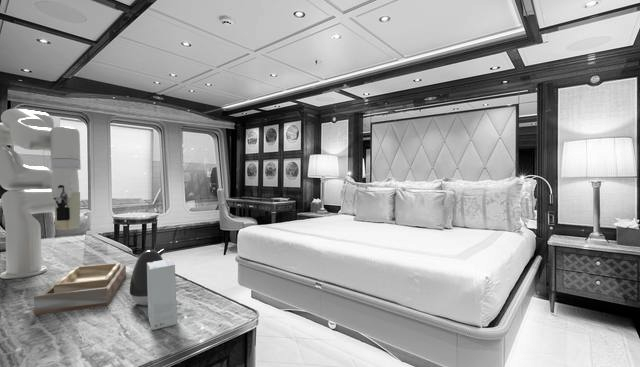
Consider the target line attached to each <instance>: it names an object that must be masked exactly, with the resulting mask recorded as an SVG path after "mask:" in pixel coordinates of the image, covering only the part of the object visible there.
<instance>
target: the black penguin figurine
mask: <svg viewBox="0 0 640 367" xmlns="http://www.w3.org/2000/svg"><path fill="white" fill-rule="evenodd" d="M165 252H166V249H165V248H162V249H160V250H159V251H157V250H154V249H148V250H144V251H143V252H142V253H141V254H140V255H139V256H138V258H137V259H136V262H135V264H134V268H133V271H132V274H131V277H130V284H129V295H130V296H131V299H132V301H134V303H135V304H138V305H140V306H147V307H148V289H147V263H148V262H154V261H160V260H164V259H163V257H162V255H163V254H164V253H165Z"/></svg>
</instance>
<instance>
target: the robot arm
mask: <svg viewBox="0 0 640 367" xmlns="http://www.w3.org/2000/svg"><path fill="white" fill-rule="evenodd" d="M0 121H1V122H0V186H1V188H3V189H4V190H6V192H4V193H3V194H2V195H1V199H0V203H1V204H0V206H1V207H2V211H3V216H4V226H5V228H4V229H5V231H4V232H5V266H6V267H5V271H3V272H1V273H0V278H1V279H4V280H5V279H7V280H11V279H23V278H28V277H33V276H37V275H40V274H43V273H45V272H46V271H48V267H47V266H45V265H42V262H43V257H42V228H41V224H40V222H39V220H38V219H36V217H35V216H33V215H36V214H45V213H55V200H56V203H57V204H56V210H57V221H63V220H70V207H68V204H69V199H72V197H73V192H80V182H79V181H80V180H79V172H78V170H82V169H81V168H82V167H81V141H80V140H81V139H80V137H81V136H80V135H81V134H80V131H79V130H78V129H77V128H76V127H75V128H74V127H71V126H55V122H54V120H53V118H52V117H51V115H50V114H48V113H47V112H42V111H36V110H30V109H24V108H23V109H22V108H9V109H7V110H4V111H3V112H2V113H1V115H0ZM9 146H13V147H14V146H15V147H20V148H23V149H24V150H31V151H48V152H50V169H49V168H48V167H46V166H40V165H39V166H38V165H37V166H35V165H32V166H31V165H30V166H29V165H27V164H25V163H24V160H23V158H22V156H21V155H20V154H19V153H18V152H17V151H15V150H14V149H13V148H10V147H9ZM65 193H66V194H67V198H62V197H65ZM65 201H66V202H65Z"/></svg>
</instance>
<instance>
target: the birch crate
mask: <svg viewBox="0 0 640 367" xmlns="http://www.w3.org/2000/svg"><path fill="white" fill-rule="evenodd" d="M120 268H121V262H114V263H113V262H111V263H103V264H100V263H99V264H92V265H91V264H90V265H80V266H75V267H73V269H71V270H72V271H71V270H70V271H71V272H70V271H68V272H69V273H68V272H67V273H68V274H67V273H66V274H67V275H66V274H65V275H66V276H65V275H63V276H62V277H63V278H62V277H61V278H62V279H61V278H60V279H61V280H60V279H59V280H57V281H58V282H57V281H56V282H57V283H56V282H55V283H56V284H55V283H54V284H55V285H54V284H53V285H54V293H59V292H68V291H77V290H86V289H94V288H103V287H107V285H108V284H109V283H110V281H111V280H112V279H113V277H114V276H115V274H116V273H117V272H118V270H119V269H120Z"/></svg>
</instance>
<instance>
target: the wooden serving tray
mask: <svg viewBox="0 0 640 367" xmlns="http://www.w3.org/2000/svg"><path fill="white" fill-rule="evenodd" d="M126 268H127V267H126V264H122V265H120V269H119V270H118V272H117V273H116V274H115V276H114V277H113V279H112V280H111V281H110V283H109V284H108V285H107V287H103V288H94V289H86V290H77V291H68V292H59V293H54V285H55V284H56V283H57V282H58V281H59V280H61V279H62V278H63V277H64V276H66V275H67V274H68V273H69V272H71V271H72V270H73V269H71V270H69V271H68V272H67V273H66V274H65V275H64V276H62V277H61V278H60V279H59V280H57V281H56V282H55V283H54V284H53V285H51V286H50V287H49V288H48V289H46V290H45V291H44V292H43V293H40V294H36V295H34V297H33V308H34V309H33V313H34V316H40V315H48V314H55V313H56V314H57V313H63V312H71V311H78V310H84V309H93V308H94V309H95V308H100V307H107V306H108V305H109V303H110V302H111V300H112V299H113V297H114V296H115V293H116V292H117V290H118V288H119V287H120V286H121V284H122V283H123V281H124V279H125V278H126V276H127V274H126V271H127V269H126ZM119 285H120V286H119Z"/></svg>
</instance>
